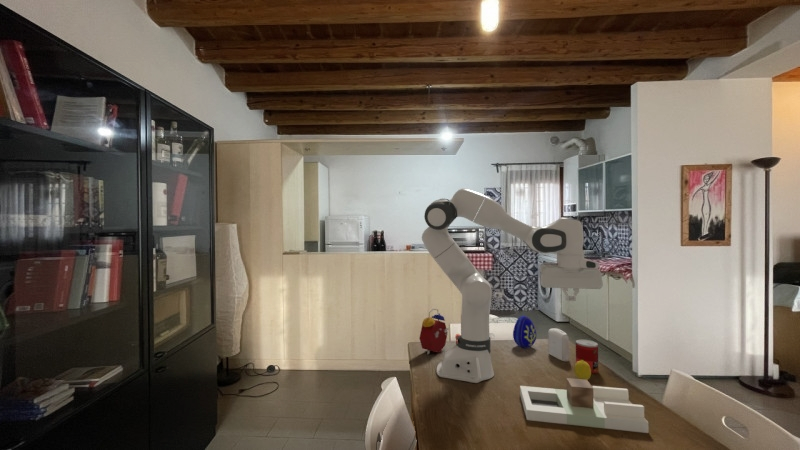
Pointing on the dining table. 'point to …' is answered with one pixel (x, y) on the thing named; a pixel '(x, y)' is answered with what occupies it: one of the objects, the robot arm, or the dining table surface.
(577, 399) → the walnut block
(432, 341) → the alarm clock
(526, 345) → the ornament
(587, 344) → the canned food
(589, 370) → the lemon
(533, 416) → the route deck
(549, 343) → the white rounded block
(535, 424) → the dining table surface
